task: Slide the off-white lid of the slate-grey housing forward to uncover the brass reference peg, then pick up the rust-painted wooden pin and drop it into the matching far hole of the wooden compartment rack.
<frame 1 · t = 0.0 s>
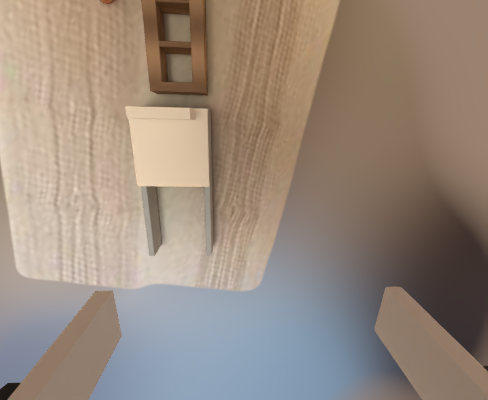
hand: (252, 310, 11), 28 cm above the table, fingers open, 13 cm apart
lid: (167, 150, 29), point 7 cm above the table, slide at 0.0 cm
housing: (179, 145, 35), on the table
wooden compartment rack: (179, 31, 30), on the table
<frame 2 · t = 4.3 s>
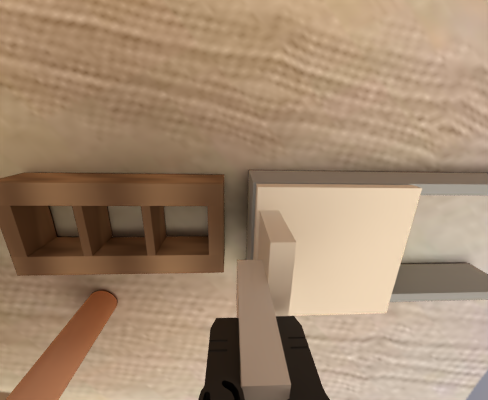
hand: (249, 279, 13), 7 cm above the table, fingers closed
lid: (340, 272, 14), point 7 cm above the table, slide at 0.1 cm, touching gripper
housing: (305, 225, 20), on the table
wooden compartment rack: (132, 215, 19), on the table
pin: (103, 301, 22), on the table
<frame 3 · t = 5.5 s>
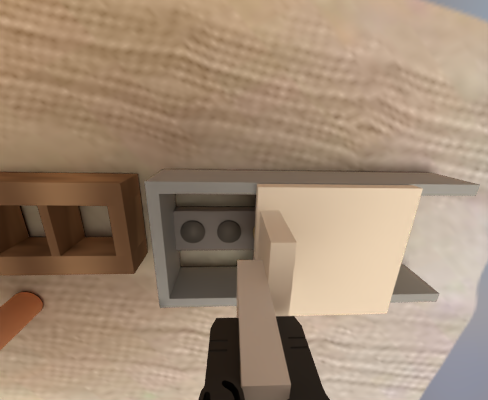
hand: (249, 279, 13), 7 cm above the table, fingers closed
lid: (341, 272, 14), point 7 cm above the table, slide at 7.0 cm, touching gripper
housing: (229, 226, 20), on the table
wooden compartment rack: (47, 215, 19), on the table
pin: (27, 303, 21), on the table
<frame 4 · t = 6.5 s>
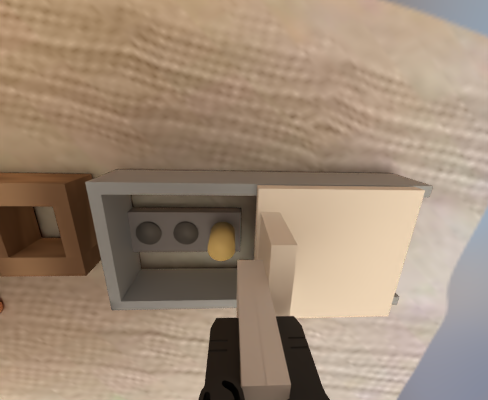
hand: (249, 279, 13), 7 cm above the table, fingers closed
lid: (342, 275, 14), point 7 cm above the table, slide at 10.5 cm, touching gripper
housing: (188, 227, 20), on the table
wooden compartment rack: (1, 216, 18), on the table
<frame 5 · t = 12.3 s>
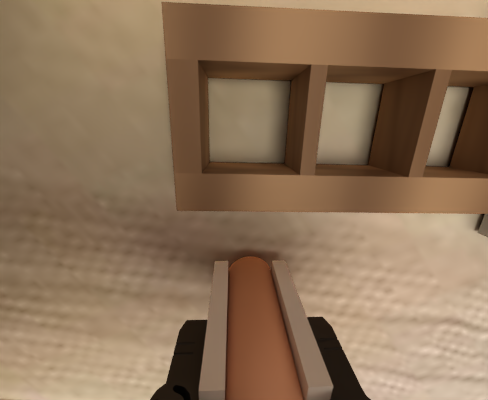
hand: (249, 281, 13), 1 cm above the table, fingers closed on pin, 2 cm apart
wooden compartment rack: (338, 125, 12), on the table
pin: (249, 275, 13), point 1 cm above the table, touching gripper
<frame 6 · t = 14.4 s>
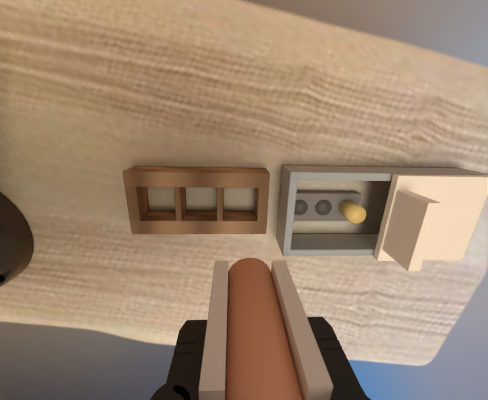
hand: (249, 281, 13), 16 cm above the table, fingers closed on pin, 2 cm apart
lid: (445, 227, 23), point 7 cm above the table, slide at 10.7 cm
housing: (320, 204, 29), on the table
wooden compartment rack: (202, 196, 28), on the table
pin: (249, 276, 13), point 16 cm above the table, touching gripper
when the fingers open (4 cm above the table, at t = 16.6 s): pin drops 3 cm, resting in wooden compartment rack.
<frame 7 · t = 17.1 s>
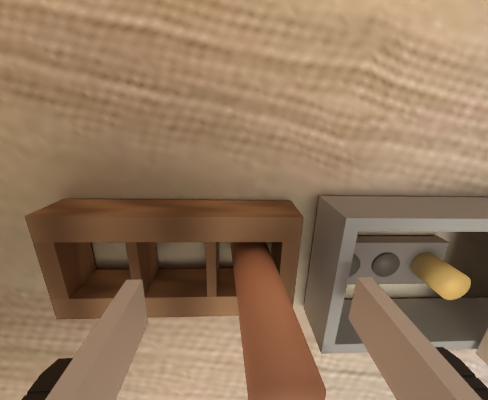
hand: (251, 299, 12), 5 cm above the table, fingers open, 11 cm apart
housing: (376, 256, 18), on the table
wooden compartment rack: (183, 245, 17), on the table
pin: (248, 245, 17), resting in wooden compartment rack
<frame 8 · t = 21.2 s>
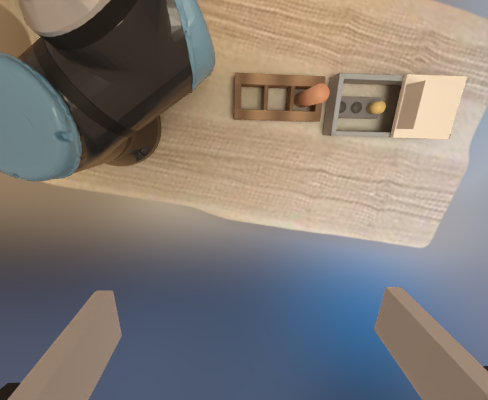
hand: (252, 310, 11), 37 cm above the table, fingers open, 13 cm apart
lid: (436, 107, 37), point 7 cm above the table, slide at 10.7 cm
housing: (353, 108, 43), on the table
wooden compartment rack: (275, 99, 42), on the table
pin: (301, 100, 42), resting in wooden compartment rack
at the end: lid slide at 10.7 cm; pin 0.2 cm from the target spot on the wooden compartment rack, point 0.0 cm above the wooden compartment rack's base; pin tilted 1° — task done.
